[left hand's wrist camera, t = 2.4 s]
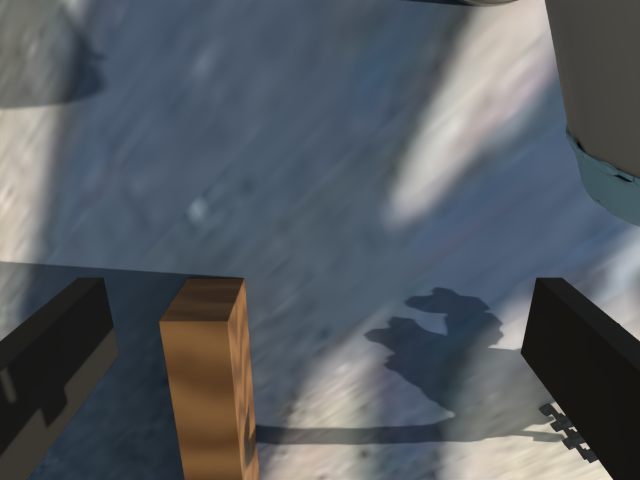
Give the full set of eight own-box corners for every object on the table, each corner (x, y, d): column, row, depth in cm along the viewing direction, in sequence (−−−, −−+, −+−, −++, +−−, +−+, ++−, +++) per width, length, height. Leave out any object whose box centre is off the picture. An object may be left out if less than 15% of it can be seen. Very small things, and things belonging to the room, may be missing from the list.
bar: (187, 278, 42) (158, 321, 35) (244, 278, 42) (228, 321, 35) (217, 509, 54) (200, 579, 47) (261, 509, 54) (252, 579, 47)
